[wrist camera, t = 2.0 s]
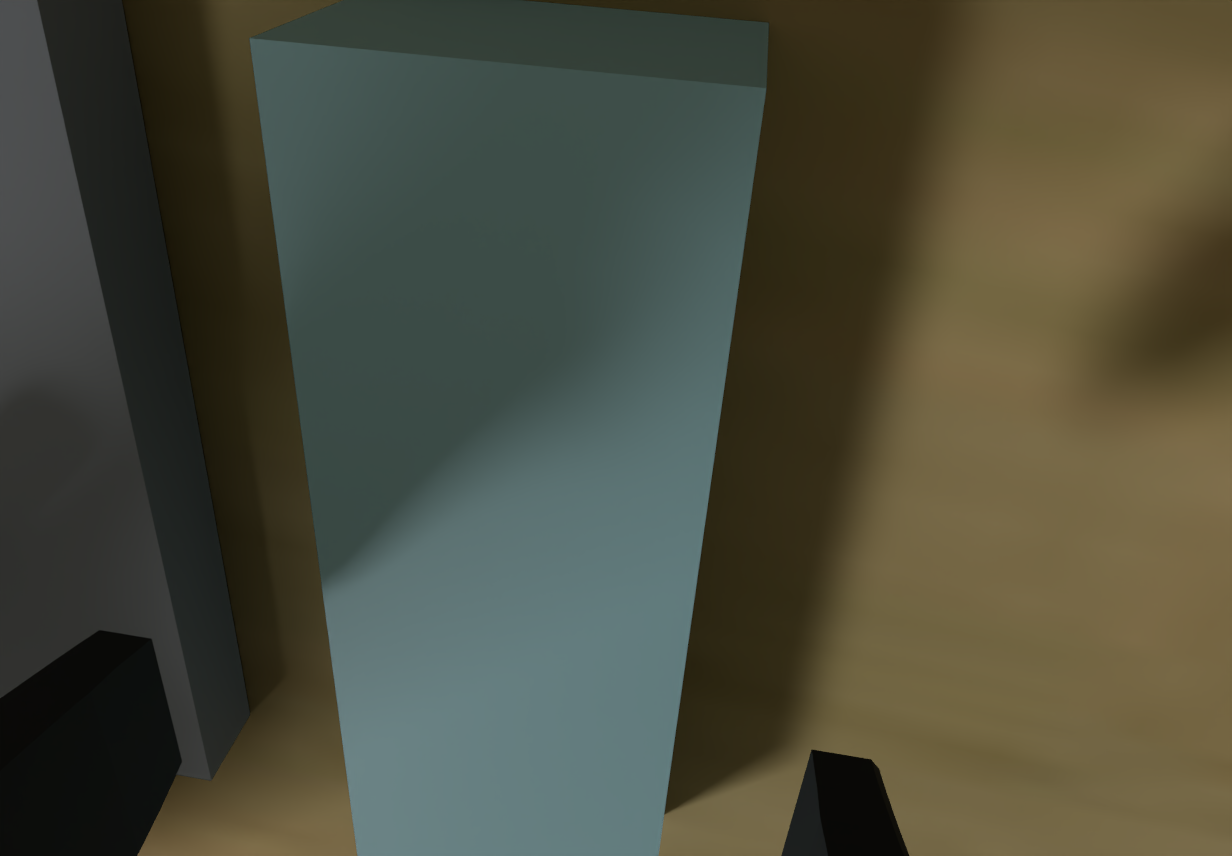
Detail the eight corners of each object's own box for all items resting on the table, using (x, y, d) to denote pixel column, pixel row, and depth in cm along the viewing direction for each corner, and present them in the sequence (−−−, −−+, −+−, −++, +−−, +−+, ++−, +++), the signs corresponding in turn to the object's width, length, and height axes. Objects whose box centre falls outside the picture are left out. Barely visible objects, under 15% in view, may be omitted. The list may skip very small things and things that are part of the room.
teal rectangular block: (661, 802, 18) (639, 987, 16) (432, 765, 19) (368, 939, 16) (769, 17, 11) (766, 89, 8) (386, -18, 11) (250, 39, 8)
